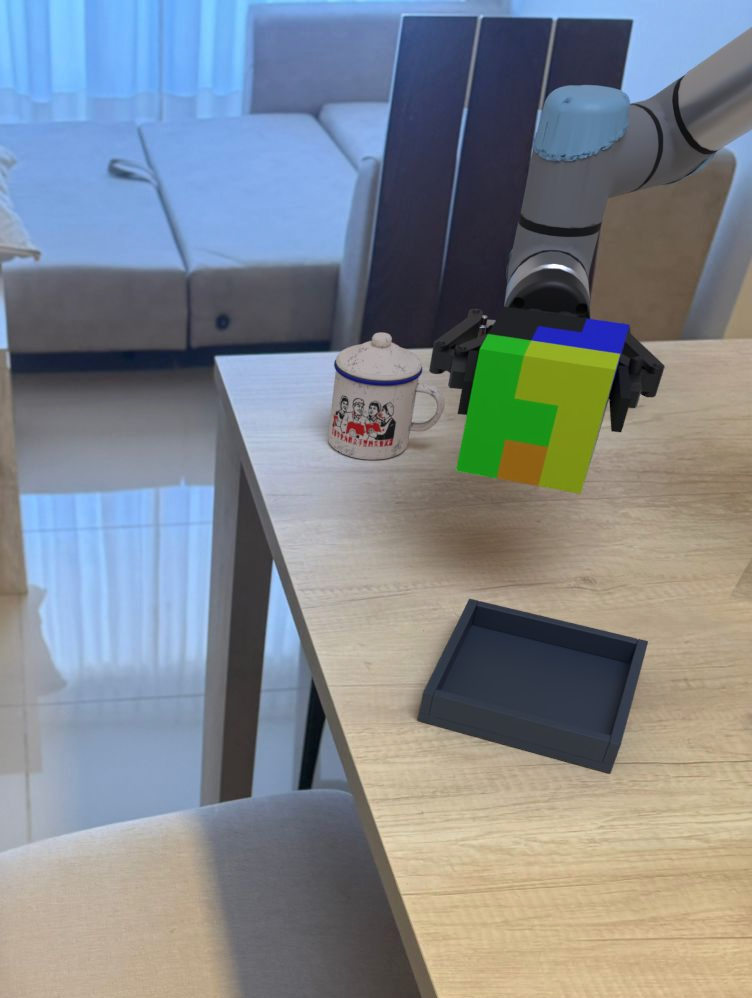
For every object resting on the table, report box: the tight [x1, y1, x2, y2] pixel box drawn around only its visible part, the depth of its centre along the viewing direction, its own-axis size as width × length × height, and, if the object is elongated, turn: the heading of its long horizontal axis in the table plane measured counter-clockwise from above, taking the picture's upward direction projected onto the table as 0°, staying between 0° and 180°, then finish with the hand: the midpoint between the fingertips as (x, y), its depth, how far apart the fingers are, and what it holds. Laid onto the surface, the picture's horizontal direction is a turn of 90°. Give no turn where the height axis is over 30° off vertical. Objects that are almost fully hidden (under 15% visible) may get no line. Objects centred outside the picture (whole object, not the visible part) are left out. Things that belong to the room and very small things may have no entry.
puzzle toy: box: [455, 306, 630, 495], centre depth 93 cm, size 10×10×10 cm
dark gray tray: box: [417, 598, 649, 775], centre depth 91 cm, size 15×15×3 cm
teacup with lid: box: [327, 332, 446, 461], centre depth 121 cm, size 12×9×12 cm
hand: (542, 406), depth 90 cm, fingers closed on puzzle toy, 11 cm apart
